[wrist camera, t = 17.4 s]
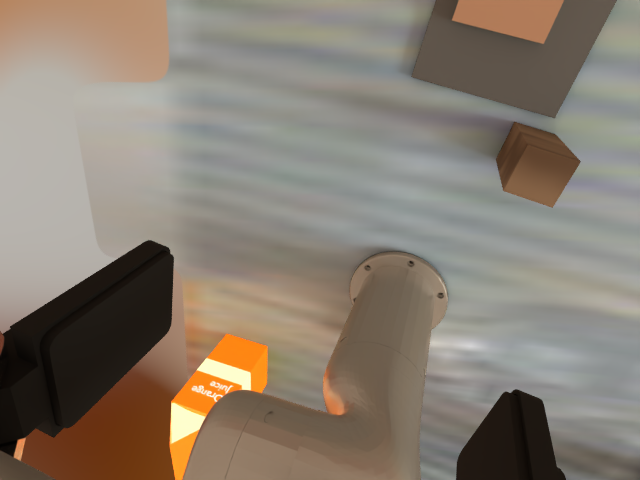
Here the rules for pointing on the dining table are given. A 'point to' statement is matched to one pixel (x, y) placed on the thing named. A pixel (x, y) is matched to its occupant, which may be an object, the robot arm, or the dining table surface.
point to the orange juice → (213, 391)
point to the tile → (510, 16)
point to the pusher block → (535, 164)
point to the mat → (511, 56)
